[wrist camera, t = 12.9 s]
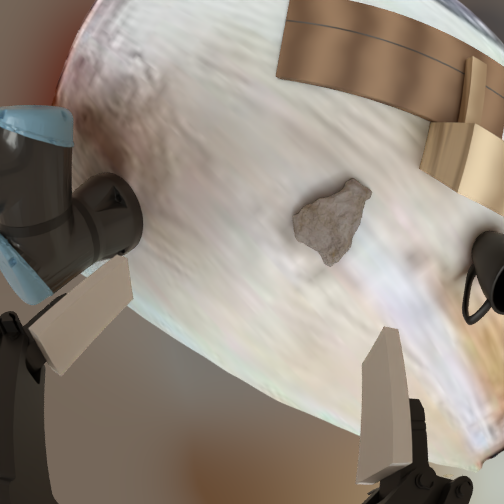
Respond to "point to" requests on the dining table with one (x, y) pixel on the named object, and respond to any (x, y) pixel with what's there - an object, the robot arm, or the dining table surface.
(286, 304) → the dining table surface
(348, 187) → the stone
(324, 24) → the board
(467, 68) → the beige block with bar
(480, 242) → the mug
